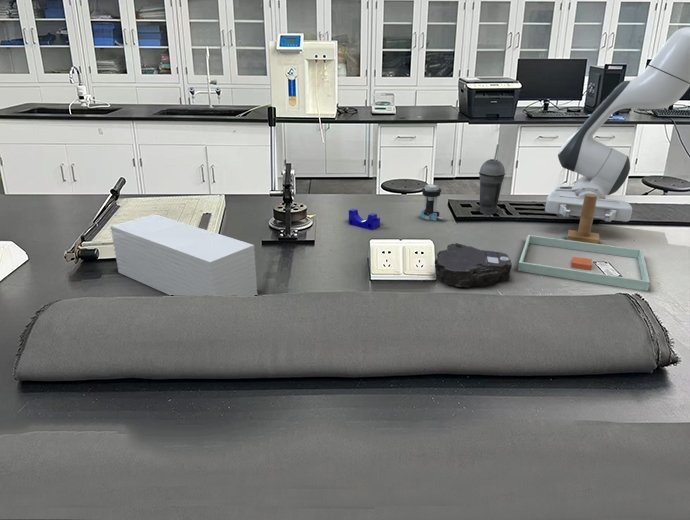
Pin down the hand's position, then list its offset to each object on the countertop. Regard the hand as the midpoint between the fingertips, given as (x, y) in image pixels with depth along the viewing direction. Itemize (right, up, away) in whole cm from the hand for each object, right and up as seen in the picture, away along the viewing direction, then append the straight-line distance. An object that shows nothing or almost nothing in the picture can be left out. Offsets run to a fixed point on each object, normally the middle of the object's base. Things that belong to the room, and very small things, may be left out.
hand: (587, 216), depth 130 cm
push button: (-35, 0, +19) cm, 40 cm away
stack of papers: (-93, -16, -20) cm, 96 cm away
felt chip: (-7, -12, -12) cm, 18 cm away
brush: (-1, -7, +1) cm, 7 cm away
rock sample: (-33, -14, -15) cm, 39 cm away
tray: (-6, -12, -11) cm, 18 cm away
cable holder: (-54, -1, +15) cm, 56 cm away
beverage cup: (-17, +3, +27) cm, 32 cm away
